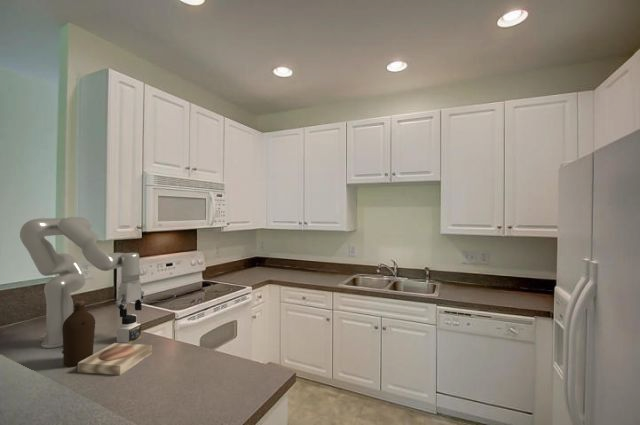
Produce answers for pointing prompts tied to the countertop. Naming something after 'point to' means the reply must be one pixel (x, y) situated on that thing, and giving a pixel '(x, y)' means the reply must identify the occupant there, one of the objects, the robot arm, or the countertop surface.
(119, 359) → the stand
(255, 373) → the countertop surface
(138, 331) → the medicine bottle
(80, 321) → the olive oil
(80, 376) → the countertop surface
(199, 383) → the countertop surface
